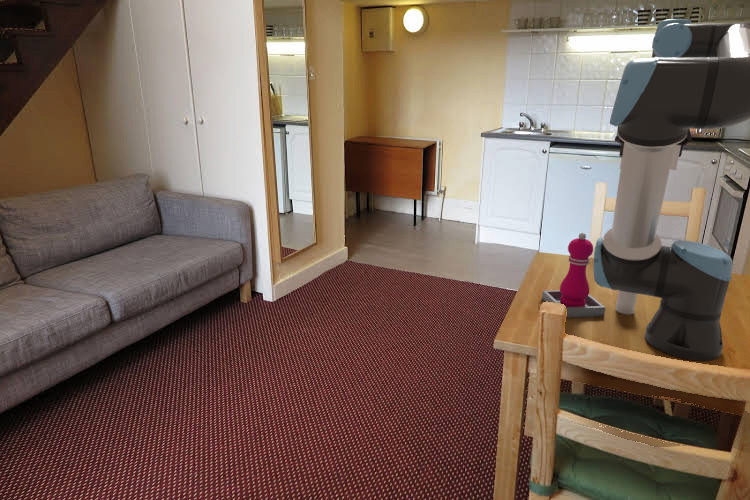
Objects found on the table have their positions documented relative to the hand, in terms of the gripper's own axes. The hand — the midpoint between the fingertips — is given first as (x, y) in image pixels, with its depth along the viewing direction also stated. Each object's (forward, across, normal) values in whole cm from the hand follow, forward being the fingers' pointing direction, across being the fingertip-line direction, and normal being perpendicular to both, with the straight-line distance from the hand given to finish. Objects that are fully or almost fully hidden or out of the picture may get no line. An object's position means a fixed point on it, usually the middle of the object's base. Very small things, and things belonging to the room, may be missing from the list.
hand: (647, 169), depth 134 cm
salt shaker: (+35, +9, +14) cm, 39 cm away
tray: (+35, +22, +11) cm, 42 cm away
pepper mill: (+34, +22, +11) cm, 42 cm away
